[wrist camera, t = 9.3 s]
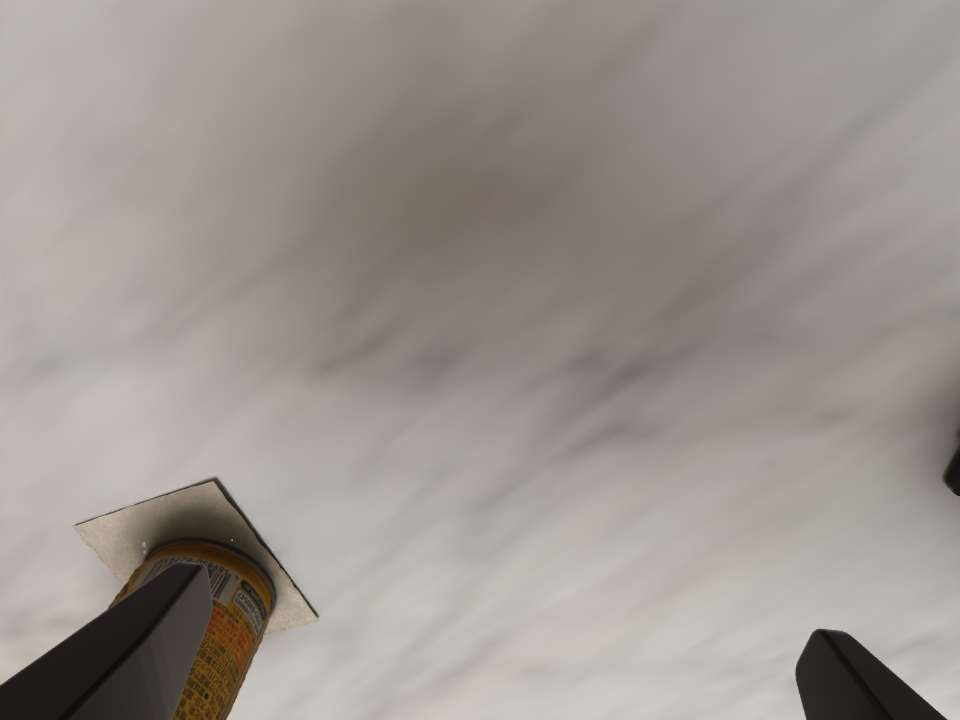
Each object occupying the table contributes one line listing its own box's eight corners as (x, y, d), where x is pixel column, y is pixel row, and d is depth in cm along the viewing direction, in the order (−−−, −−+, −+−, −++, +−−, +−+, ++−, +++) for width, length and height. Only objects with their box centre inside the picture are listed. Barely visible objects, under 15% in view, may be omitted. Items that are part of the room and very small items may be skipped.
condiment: (189, 651, 29) (-2, 1001, 18) (75, 523, 25) (-244, 860, 15) (320, 616, 27) (196, 975, 17) (217, 475, 24) (-23, 811, 13)
